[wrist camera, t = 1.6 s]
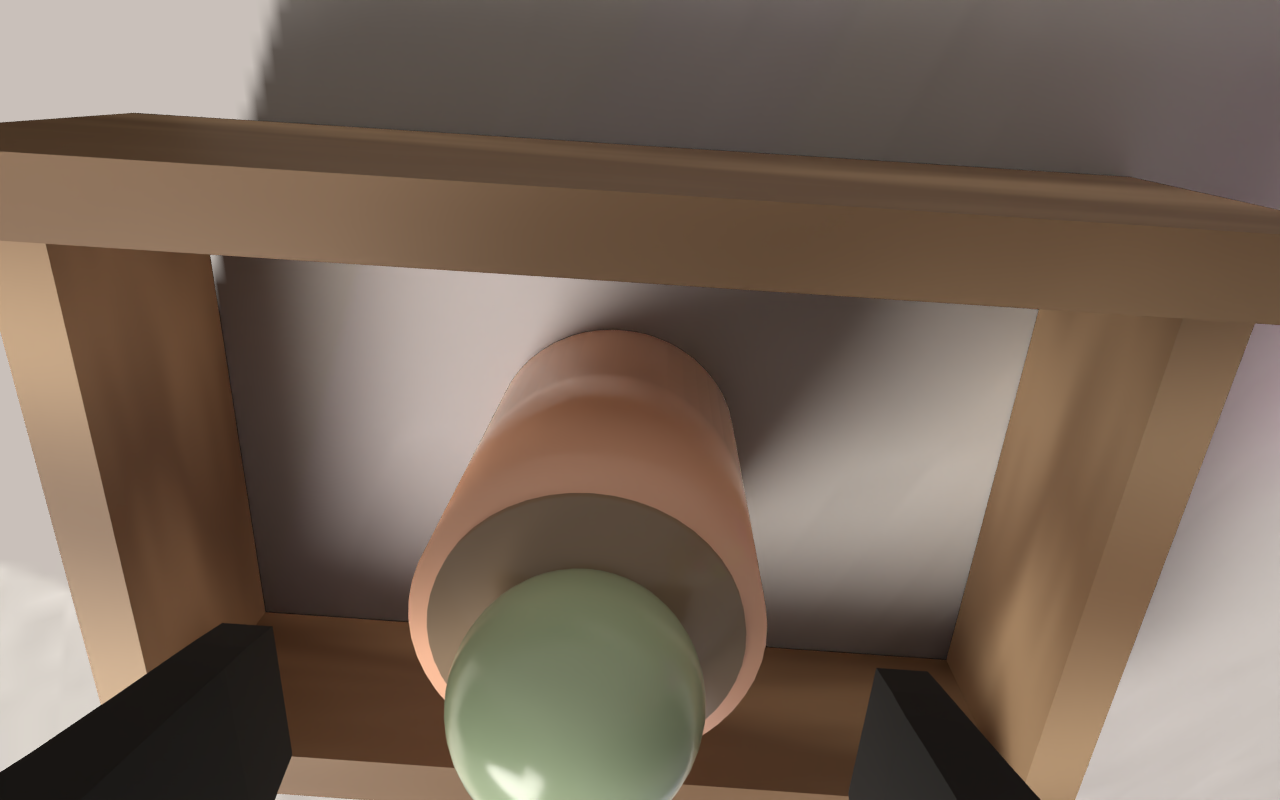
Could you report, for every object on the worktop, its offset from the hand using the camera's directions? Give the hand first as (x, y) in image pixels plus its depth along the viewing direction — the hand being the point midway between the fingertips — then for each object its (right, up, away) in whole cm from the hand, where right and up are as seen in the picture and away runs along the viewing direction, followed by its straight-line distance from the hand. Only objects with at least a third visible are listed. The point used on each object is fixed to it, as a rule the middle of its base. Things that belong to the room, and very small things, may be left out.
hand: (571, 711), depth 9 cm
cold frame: (0, +3, +7) cm, 8 cm away
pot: (0, +3, +7) cm, 8 cm away
